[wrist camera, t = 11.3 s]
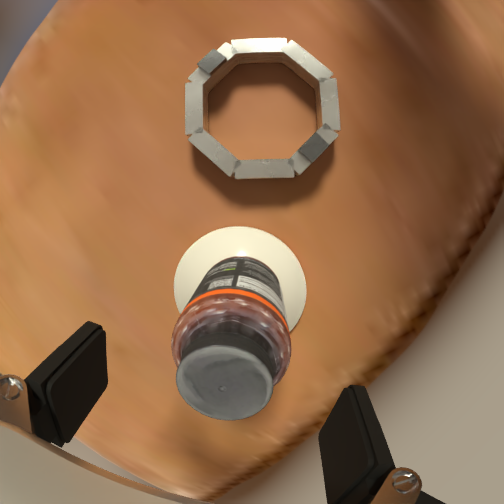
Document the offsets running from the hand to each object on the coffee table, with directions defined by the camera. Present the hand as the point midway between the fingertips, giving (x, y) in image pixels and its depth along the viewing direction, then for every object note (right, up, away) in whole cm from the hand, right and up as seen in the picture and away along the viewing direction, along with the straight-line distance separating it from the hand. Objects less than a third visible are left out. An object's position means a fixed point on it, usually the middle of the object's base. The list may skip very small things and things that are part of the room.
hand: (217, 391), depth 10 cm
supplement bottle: (+1, +2, +12) cm, 12 cm away
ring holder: (+2, +15, +9) cm, 18 cm away
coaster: (0, +2, +12) cm, 13 cm away
